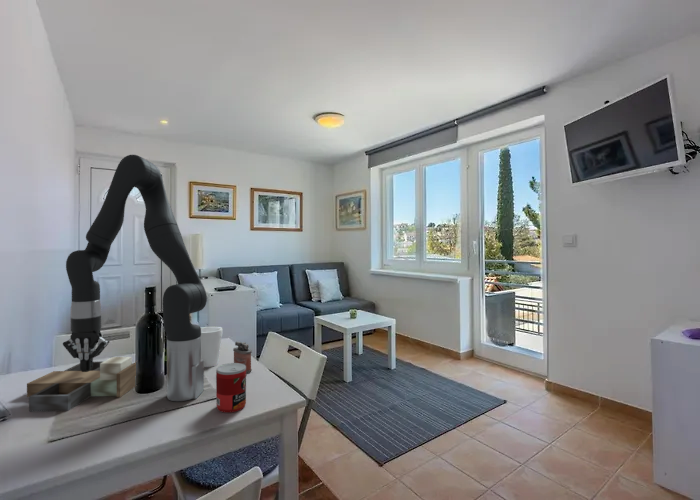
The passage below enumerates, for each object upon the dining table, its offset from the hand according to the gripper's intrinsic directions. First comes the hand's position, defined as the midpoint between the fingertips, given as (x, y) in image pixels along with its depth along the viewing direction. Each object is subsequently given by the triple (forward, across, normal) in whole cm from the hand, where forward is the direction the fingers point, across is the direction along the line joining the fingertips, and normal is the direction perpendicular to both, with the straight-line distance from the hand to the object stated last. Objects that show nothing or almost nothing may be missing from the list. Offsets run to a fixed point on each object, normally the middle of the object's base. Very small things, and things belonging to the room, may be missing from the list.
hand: (86, 371), depth 109 cm
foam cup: (+6, -30, -22) cm, 37 cm away
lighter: (+6, -44, -15) cm, 46 cm away
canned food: (+6, -48, +13) cm, 50 cm away
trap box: (+6, 0, 0) cm, 6 cm away
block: (+2, -9, 0) cm, 9 cm away
